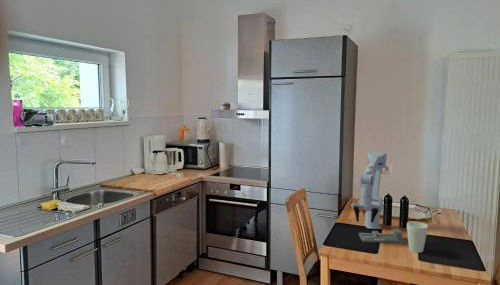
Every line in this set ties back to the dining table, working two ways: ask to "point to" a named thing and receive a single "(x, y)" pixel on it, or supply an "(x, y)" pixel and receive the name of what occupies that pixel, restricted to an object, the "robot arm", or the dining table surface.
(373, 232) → the gauge follower
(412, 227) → the foam cup
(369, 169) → the robot arm
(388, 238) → the gauge base
